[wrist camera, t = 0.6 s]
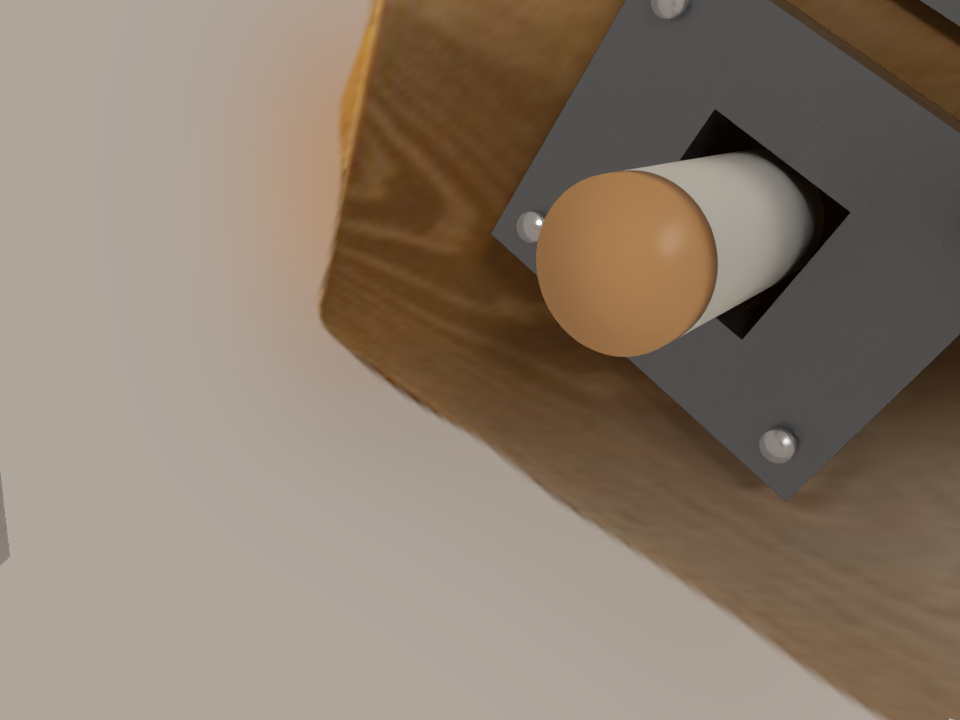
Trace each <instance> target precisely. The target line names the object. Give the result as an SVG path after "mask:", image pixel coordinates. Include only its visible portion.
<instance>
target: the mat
mask: <svg viewBox="0 0 960 720" xmlns="http://www.w3.org/2000/svg"><path fill="white" fill-rule="evenodd" d="M920 1H922V2H923V3H925V4H926V5H928V6H929V7H931V8H932V9H934V10H935V11H937V12H939V13H940V14H942V15H943V16H945V17H946V18H948V19H949V20H951V21H952V22H954V23H955V24H957V25H958V26H960V0H920Z"/></svg>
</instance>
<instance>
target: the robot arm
mask: <svg viewBox="0 0 960 720" xmlns="http://www.w3.org/2000/svg"><path fill="white" fill-rule="evenodd" d="M9 557H10V552H9V543H8V535H7V526H6V518H5V509H4V501H3V492H2V484H1V476H0V565H1V564H2V563H4V562H5V560H7V559H8V558H9ZM947 720H954V719H951V718H948V719H947Z"/></svg>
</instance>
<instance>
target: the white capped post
mask: <svg viewBox="0 0 960 720" xmlns="http://www.w3.org/2000/svg"><path fill="white" fill-rule="evenodd" d="M823 226H824V207H823V201H822V197H821V194H820V191H819V189H818V187H817V186H816V185H814V184H813V183H812V182H810V181H809V180H808V179H806V178H805V177H804V176H802V175H801V174H800V173H798V172H797V171H796V170H795V169H793V168H792V167H791V166H789V165H788V164H787V163H785V162H784V161H783V160H781V159H780V158H779V157H777V156H776V155H775V154H774V153H772V152H771V151H770V150H766V149H751V150H743V151H737V152H731V153H725V154H719V155H713V156H707V157H701V158H695V159H690V160H684V161H678V162H672V163H666V164H660V165H654V166H648V167H642V168H636V169H630V170H624V171H618V172H612V173H606V174H600V175H596V176H592V177H589V178H587V179H584V180H582V181H580V182H578V183H577V184H575V185H573V186H572V187H570V188H569V189H568V190H567V191H565V192H564V193H563V194H562V195H561V196H560V197H559V198H558V199H557V200H556V202H555V203H554V204H553V206H552V207H551V209H550V210H549V212H548V214H547V216H546V218H545V219H544V222H543V224H542V227H541V230H540V233H539V238H538V242H537V250H536V268H537V277H538V281H539V286H540V289H541V292H542V295H543V298H544V300H545V302H546V304H547V306H548V308H549V310H550V312H551V313H552V315H553V317H554V318H555V319H556V321H557V322H558V323H559V325H560V326H561V327H562V328H563V329H564V330H565V331H566V332H567V333H568V334H569V335H570V336H571V337H573V338H574V339H575V340H576V341H578V342H579V343H581V344H582V345H584V346H586V347H588V348H590V349H592V350H594V351H596V352H599V353H602V354H606V355H611V356H616V357H631V356H639V355H643V354H647V353H650V352H652V351H655V350H657V349H659V348H661V347H663V346H665V345H666V344H668V343H670V342H672V341H674V340H675V339H677V338H679V337H681V336H683V335H684V334H686V333H688V332H690V331H692V330H693V329H695V328H697V327H699V326H701V325H702V324H704V323H706V322H708V321H710V320H711V319H713V318H715V317H717V316H719V315H721V314H722V313H724V312H726V311H728V310H730V309H731V308H733V307H735V306H737V305H739V304H740V303H742V302H744V301H746V300H748V299H749V298H751V297H753V296H755V295H757V294H758V293H760V292H762V291H764V290H766V289H767V288H769V287H771V286H773V285H775V284H777V283H778V282H780V281H782V280H784V279H786V278H787V277H789V276H791V275H792V274H794V273H795V272H797V271H798V270H799V269H800V268H802V267H803V266H804V265H805V264H806V263H807V261H808V260H809V259H810V258H811V256H812V255H813V253H814V252H815V250H816V248H817V246H818V244H819V241H820V239H821V235H822V231H823Z"/></svg>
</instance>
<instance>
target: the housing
mask: <svg viewBox="0 0 960 720" xmlns="http://www.w3.org/2000/svg"><path fill="white" fill-rule="evenodd" d="M731 122H733V123H734V124H735V125H737V126H738V127H739V128H741V129H742V130H743V131H745V132H746V133H747V134H749V135H750V136H751V137H753V138H754V139H755V140H756V141H758V142H759V143H760V144H762V145H763V146H764V147H766V148H767V149H768V150H770V151H771V152H772V153H774V154H775V155H776V156H777V157H779V158H780V159H781V160H783V161H784V162H785V163H787V164H788V165H789V166H791V167H792V168H793V169H795V170H796V171H797V172H798V173H800V174H801V175H802V176H804V177H805V178H806V179H808V180H809V181H810V182H812V183H813V184H814V185H816V186H817V187H818V188H819V189H821V190H822V191H823V192H825V193H826V194H827V195H829V196H830V197H831V198H833V199H834V200H835V201H836V202H838V203H839V204H840V205H842V206H843V207H844V208H846V209H847V210H848V211H850V212H851V213H850V214H849V215H848V216H847V218H846V219H845V220H844V221H843V222H842V223H841V225H840V226H839V227H838V228H837V229H836V230H835V232H834V233H833V234H832V235H831V236H830V238H829V239H828V240H827V241H826V242H825V243H824V245H823V246H822V247H821V248H820V249H819V250H818V252H817V253H816V254H815V255H814V256H813V257H812V259H811V260H810V261H809V262H808V263H807V265H806V266H805V267H804V268H803V269H802V270H801V272H800V273H799V274H798V275H797V276H796V277H795V279H794V280H793V281H792V282H791V283H790V284H789V286H788V287H787V288H786V289H785V290H784V291H783V293H782V294H781V295H780V296H779V297H778V299H777V300H776V301H775V302H774V303H773V304H772V306H771V307H770V308H769V309H768V310H767V311H766V313H765V314H764V315H763V316H762V317H761V318H760V319H758V318H757V317H756V316H755V315H754V314H752V313H751V312H750V311H749V310H748V309H746V308H745V307H744V306H743V305H742V304H741V303H740V304H739V305H737V306H735V307H733V308H731V309H730V310H728V311H726V312H724V313H722V314H721V315H719V316H717V317H715V318H713V319H711V320H710V321H708V322H706V323H704V324H702V325H701V326H699V327H697V328H695V329H693V330H692V331H690V332H688V333H686V334H684V335H683V336H681V337H679V338H677V339H675V340H674V341H672V342H670V343H668V344H666V345H665V346H663V347H661V348H659V349H657V350H655V351H652V352H650V353H647V354H643V355H639V356H631V357H627V358H628V359H629V360H630V361H631V362H633V363H634V364H635V365H636V366H637V367H638V368H639V369H640V370H641V371H642V372H644V373H645V374H646V375H647V376H648V377H649V378H650V379H651V380H652V381H653V382H655V383H656V384H657V385H658V386H659V387H660V388H661V389H662V390H663V391H664V392H665V393H667V394H668V395H669V396H670V397H671V398H672V399H673V400H674V401H675V402H676V403H678V404H679V405H680V406H681V407H682V408H683V409H684V410H685V411H686V412H687V413H689V414H690V415H691V416H692V417H693V418H694V419H695V420H696V421H697V422H698V423H700V424H701V425H702V426H703V427H704V428H705V429H706V430H707V431H708V432H709V433H711V434H712V435H713V436H714V437H715V438H716V439H717V440H718V441H719V442H720V443H722V444H723V445H724V446H725V447H726V448H727V449H728V450H729V451H730V452H731V453H733V454H734V455H735V456H736V457H737V458H738V459H739V460H740V461H741V462H742V463H744V464H745V465H746V466H747V467H748V468H749V469H750V470H751V471H752V472H753V473H755V474H756V475H757V476H758V477H759V478H760V479H761V480H762V481H763V482H764V483H766V484H767V485H768V486H769V487H770V488H771V489H772V490H773V491H774V492H775V493H777V494H778V495H779V496H780V497H781V498H782V499H783V500H784V501H785V502H786V501H787V500H788V499H789V498H790V497H791V496H792V495H793V494H795V493H796V492H797V491H798V490H799V489H800V488H801V487H802V486H803V485H804V484H805V483H806V482H807V481H808V480H809V479H810V478H811V477H812V476H813V475H814V474H815V473H816V472H817V471H818V470H819V469H820V468H822V467H823V466H824V465H825V464H826V463H827V462H828V461H829V460H830V459H831V458H832V457H833V456H834V455H835V454H836V453H837V452H838V451H839V450H840V449H841V448H842V447H843V446H844V445H845V444H846V443H847V442H849V441H850V440H851V439H852V438H853V437H854V436H855V435H856V434H857V433H858V432H859V431H860V430H861V429H862V428H863V427H864V426H865V425H866V424H867V423H868V422H869V421H870V420H871V419H872V418H873V417H874V416H876V415H877V414H878V413H879V412H880V411H881V410H882V409H883V408H884V407H885V406H886V405H887V404H888V403H889V402H890V401H891V400H892V399H893V398H894V397H895V396H896V395H897V394H898V393H899V392H900V391H901V390H903V389H904V388H905V387H906V386H907V385H908V384H909V383H910V382H911V381H912V380H913V379H914V378H915V377H916V376H917V375H918V374H919V373H920V372H921V371H922V370H923V369H924V368H925V367H926V366H927V365H928V364H929V363H931V362H932V361H933V360H934V359H935V358H936V357H937V356H938V355H939V354H940V353H941V352H942V351H943V350H944V349H945V348H946V347H947V346H948V345H949V344H950V343H951V342H952V341H953V340H954V339H955V338H956V337H958V336H959V335H960V121H959V120H958V119H956V118H955V117H953V116H952V115H951V114H949V113H948V112H946V111H945V110H943V109H942V108H940V107H939V106H938V105H936V104H935V103H933V102H932V101H930V100H929V99H927V98H926V97H925V96H923V95H922V94H920V93H919V92H917V91H916V90H914V89H913V88H912V87H910V86H909V85H907V84H906V83H904V82H903V81H901V80H900V79H898V78H897V77H896V76H894V75H893V74H891V73H890V72H888V71H887V70H885V69H884V68H883V67H881V66H880V65H878V64H877V63H875V62H874V61H872V60H871V59H870V58H868V57H867V56H865V55H864V54H862V53H861V52H859V51H858V50H857V49H855V48H854V47H852V46H851V45H849V44H848V43H846V42H845V41H844V40H842V39H841V38H839V37H838V36H836V35H835V34H833V33H832V32H831V31H829V30H828V29H826V28H825V27H823V26H822V25H820V24H819V23H818V22H816V21H815V20H813V19H812V18H810V17H809V16H807V15H806V14H805V13H803V12H802V11H800V10H799V9H797V8H796V7H794V6H793V5H792V4H790V3H789V2H787V1H786V0H626V1H625V3H624V4H623V6H622V8H621V10H620V11H619V13H618V15H617V16H616V18H615V20H614V22H613V23H612V25H611V27H610V29H609V30H608V32H607V34H606V36H605V37H604V39H603V41H602V42H601V44H600V46H599V48H598V49H597V51H596V53H595V55H594V56H593V58H592V60H591V62H590V63H589V65H588V67H587V68H586V70H585V72H584V74H583V75H582V77H581V79H580V81H579V82H578V84H577V86H576V88H575V89H574V91H573V93H572V94H571V96H570V98H569V100H568V101H567V103H566V105H565V107H564V108H563V110H562V112H561V113H560V115H559V117H558V119H557V120H556V122H555V124H554V126H553V127H552V129H551V131H550V133H549V134H548V136H547V138H546V139H545V141H544V143H543V145H542V146H541V148H540V150H539V152H538V153H537V155H536V157H535V159H534V160H533V162H532V164H531V165H530V167H529V169H528V171H527V172H526V174H525V176H524V178H523V179H522V181H521V183H520V184H519V186H518V188H517V190H516V191H515V193H514V195H513V197H512V198H511V200H510V202H509V204H508V205H507V207H506V209H505V210H504V212H503V214H502V216H501V217H500V219H499V221H498V223H497V224H496V226H495V228H494V230H493V231H492V233H491V234H492V235H493V236H494V237H495V238H496V239H497V240H498V241H500V242H501V243H502V244H503V245H504V246H505V247H506V248H507V249H508V250H509V251H511V252H512V253H513V254H514V255H515V256H516V257H517V258H518V259H519V260H520V261H522V262H523V263H524V264H525V265H526V266H527V267H528V268H529V269H530V270H531V271H532V272H534V273H535V274H536V275H537V268H536V250H537V242H538V238H539V233H540V230H541V227H542V224H543V222H544V219H545V218H546V216H547V214H548V212H549V210H550V209H551V207H552V206H553V204H554V203H555V202H556V200H557V199H558V198H559V197H560V196H561V195H562V194H563V193H564V192H565V191H567V190H568V189H569V188H570V187H572V186H573V185H575V184H577V183H578V182H580V181H582V180H584V179H587V178H589V177H592V176H596V175H600V174H606V173H612V172H618V171H624V170H630V169H636V168H642V167H648V166H654V165H660V164H666V163H672V162H678V161H684V160H690V159H695V158H701V157H707V156H708V154H709V153H710V151H711V150H712V148H713V147H714V146H715V144H716V143H717V141H718V140H719V139H720V137H721V136H722V134H723V133H724V131H725V130H726V129H727V127H728V126H729V124H730V123H731Z"/></svg>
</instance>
